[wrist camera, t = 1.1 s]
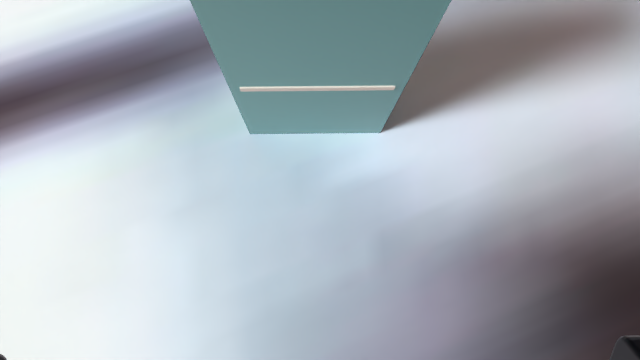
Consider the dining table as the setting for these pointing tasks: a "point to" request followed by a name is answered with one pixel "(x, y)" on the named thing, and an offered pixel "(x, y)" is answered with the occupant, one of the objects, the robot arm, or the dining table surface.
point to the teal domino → (318, 59)
